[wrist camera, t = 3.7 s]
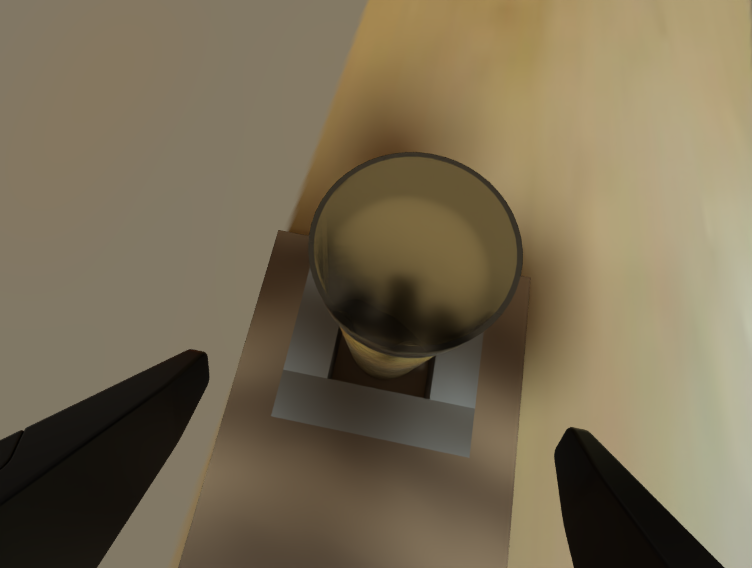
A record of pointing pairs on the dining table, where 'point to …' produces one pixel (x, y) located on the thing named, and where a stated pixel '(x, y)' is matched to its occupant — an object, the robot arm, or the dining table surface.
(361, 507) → the walnut eye plate
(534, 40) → the dining table surface
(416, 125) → the dining table surface
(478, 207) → the tan cylinder
